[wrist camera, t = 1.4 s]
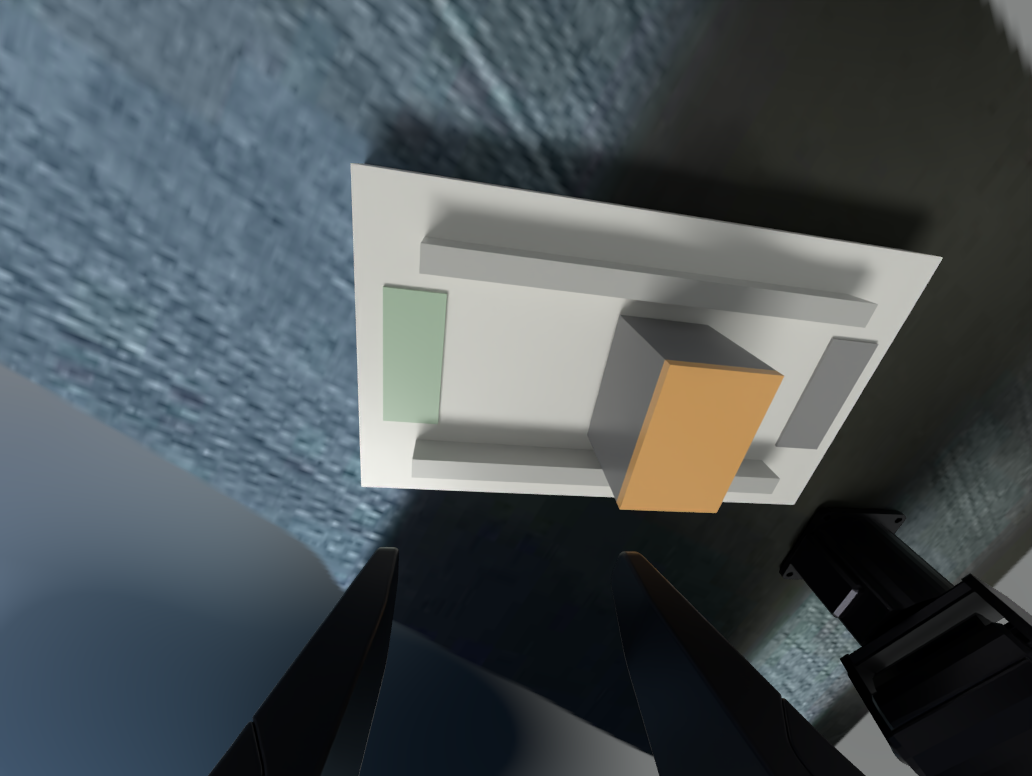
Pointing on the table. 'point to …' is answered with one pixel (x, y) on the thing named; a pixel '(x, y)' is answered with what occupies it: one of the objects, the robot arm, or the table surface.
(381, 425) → the white rail tray
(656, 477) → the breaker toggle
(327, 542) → the table surface
